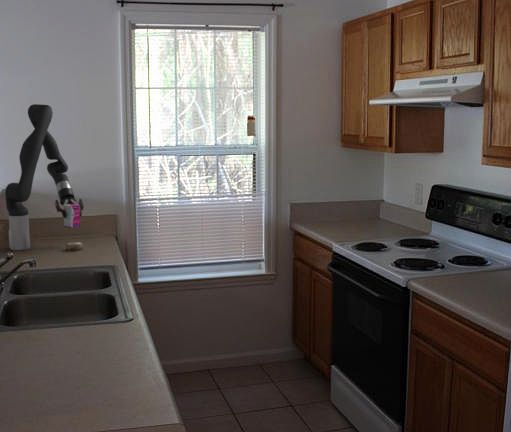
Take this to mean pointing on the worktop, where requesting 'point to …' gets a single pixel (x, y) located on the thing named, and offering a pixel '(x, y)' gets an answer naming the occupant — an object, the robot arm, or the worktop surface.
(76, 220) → the supplement box
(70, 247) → the base block
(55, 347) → the worktop surface
